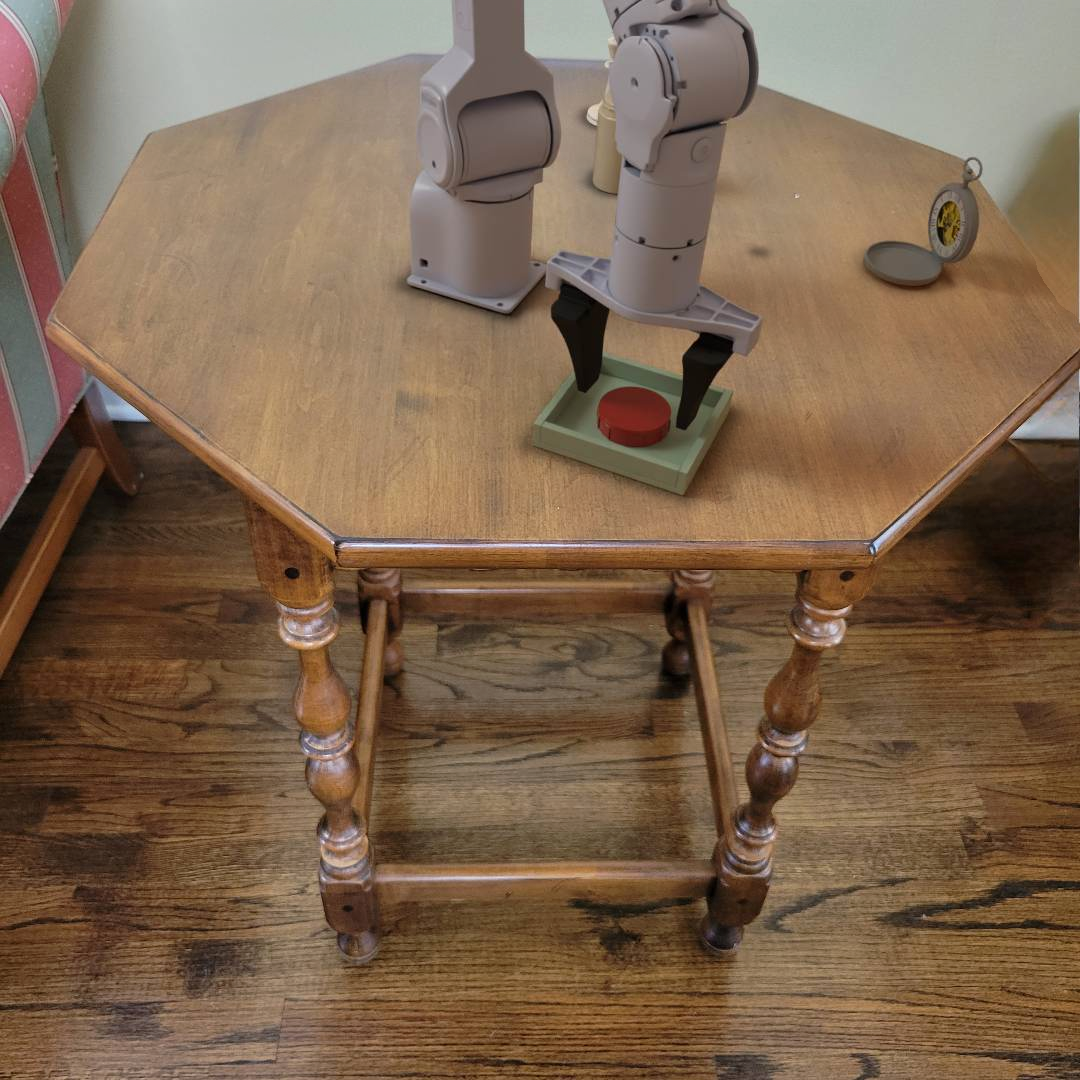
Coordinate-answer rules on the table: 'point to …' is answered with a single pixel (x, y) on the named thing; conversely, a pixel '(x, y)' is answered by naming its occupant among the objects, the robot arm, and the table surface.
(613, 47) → the chess piece
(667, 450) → the tray
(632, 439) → the lid
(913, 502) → the table surface
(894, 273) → the pocket watch
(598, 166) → the jar
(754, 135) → the table surface
